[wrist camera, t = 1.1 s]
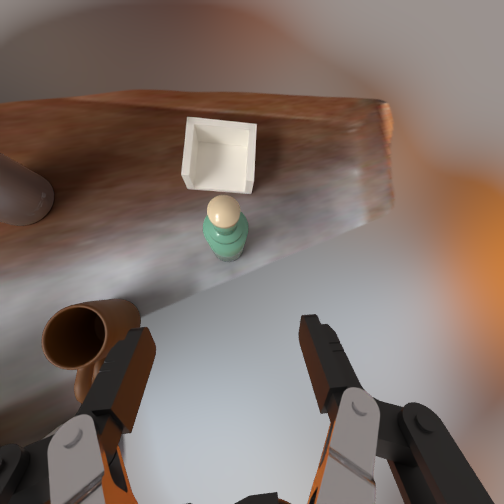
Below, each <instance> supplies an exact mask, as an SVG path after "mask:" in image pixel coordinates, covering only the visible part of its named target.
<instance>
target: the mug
mask: <svg viewBox="0 0 504 504" xmlns="http://www.w3.org/2000/svg"><path fill="white" fill-rule="evenodd" d="M140 324H141V318H140V314H139V311H138V309H137V308H136V307H135V306H134V305H133V304H132V303H131V302H129V301H126V300H123V299H109V300H99V301H90V302H83V303H79V304H75V305H71V306H68V307H65V308H63V309H61V310H60V311H58V312H57V313H56V314H55V315H54V316H53V317H52V318H51V319H50V320H49V321H48V323H47V324H46V326H45V328H44V331H43V334H42V349H43V352H44V354H45V356H46V358H47V359H48V360H49V361H50V362H51V363H52V364H53V365H55V366H57V367H59V368H62V369H67V370H76V369H77V375H76V379H75V384H74V392H75V396H76V399H77V401H79V402H80V403H83V401H84V399H85V397H86V395H87V393H88V391H89V390H90V388H91V386H92V384H93V382H94V380H95V378H96V376H97V374H98V373H99V370H100V368H101V366H102V364H104V360H105V358H106V357H107V355H108V353H109V351H110V350H111V348H112V347H113V346H114V345H115V344H116V343H117V342H118V341H119V340H124V339H125V337H126V335H127V333H128V331H129V330H130V329H131V328H140ZM92 377H93V380H92Z"/></svg>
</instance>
